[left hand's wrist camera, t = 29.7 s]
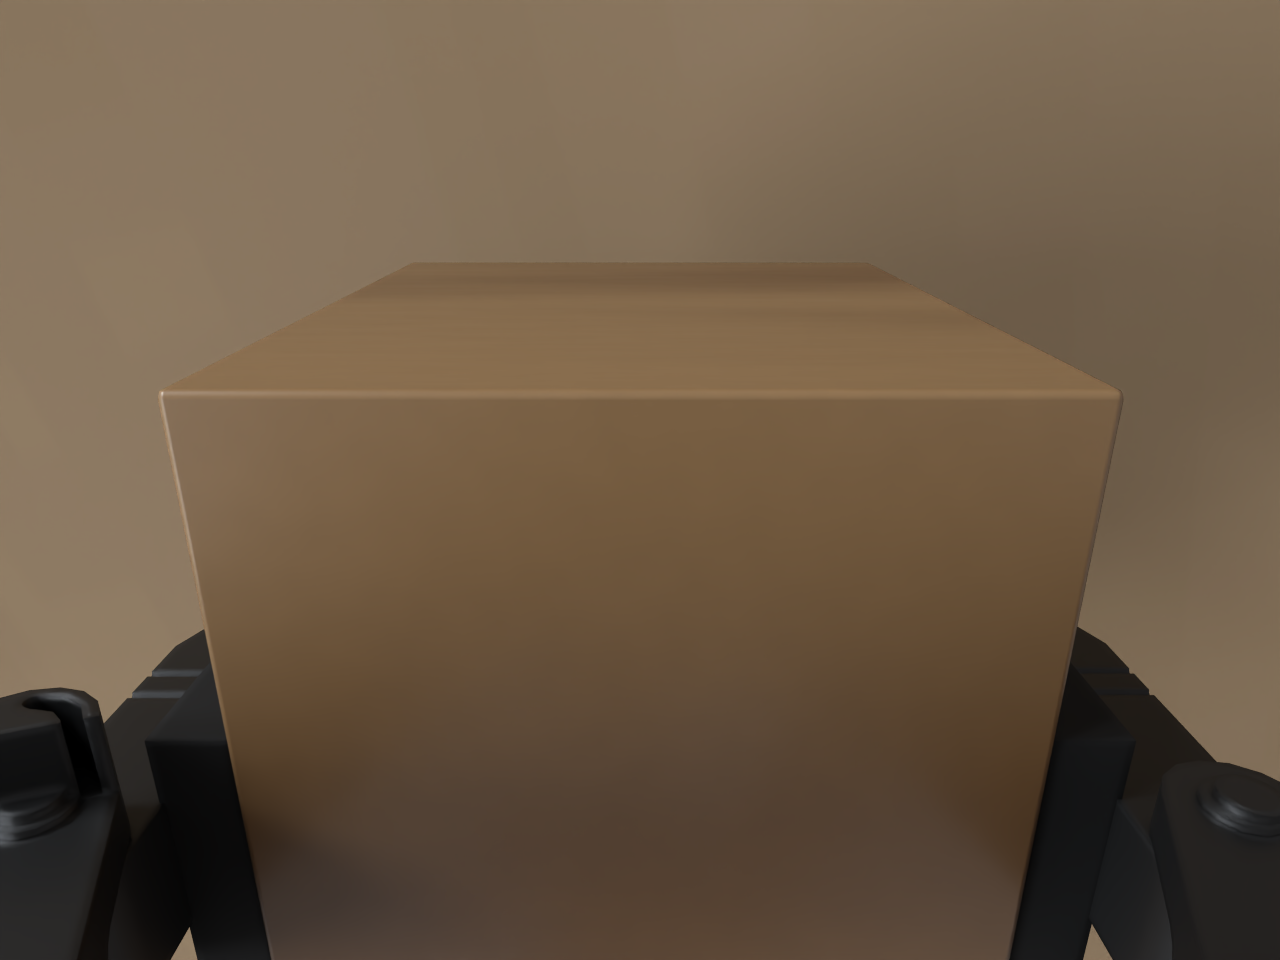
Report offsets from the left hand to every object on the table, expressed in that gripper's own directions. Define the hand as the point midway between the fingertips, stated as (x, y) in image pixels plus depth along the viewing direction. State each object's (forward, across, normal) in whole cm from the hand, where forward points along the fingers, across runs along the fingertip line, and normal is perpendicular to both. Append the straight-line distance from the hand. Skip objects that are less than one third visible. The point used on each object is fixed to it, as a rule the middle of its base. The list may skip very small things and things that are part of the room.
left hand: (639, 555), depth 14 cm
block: (+1, 0, 0) cm, 1 cm away
